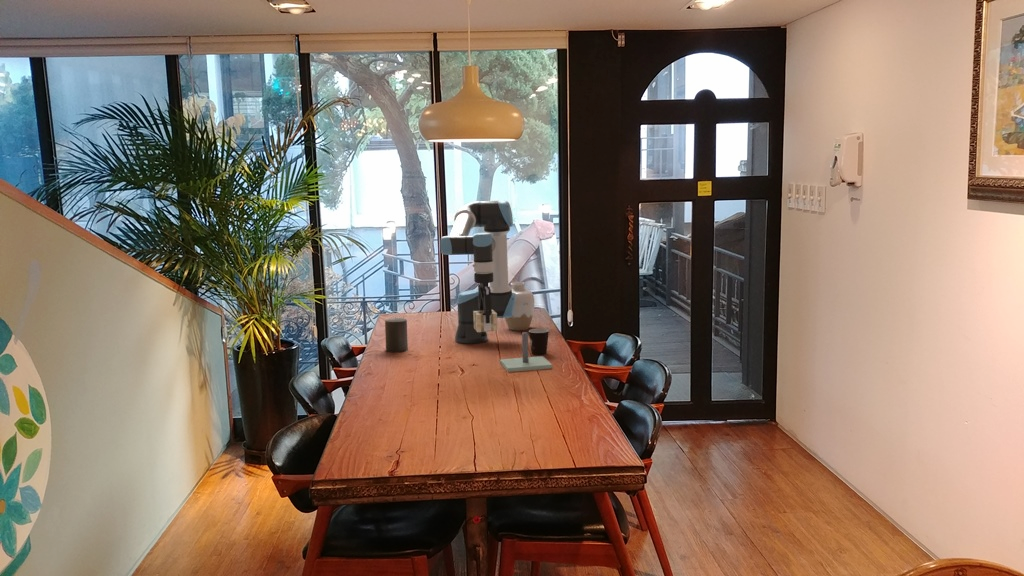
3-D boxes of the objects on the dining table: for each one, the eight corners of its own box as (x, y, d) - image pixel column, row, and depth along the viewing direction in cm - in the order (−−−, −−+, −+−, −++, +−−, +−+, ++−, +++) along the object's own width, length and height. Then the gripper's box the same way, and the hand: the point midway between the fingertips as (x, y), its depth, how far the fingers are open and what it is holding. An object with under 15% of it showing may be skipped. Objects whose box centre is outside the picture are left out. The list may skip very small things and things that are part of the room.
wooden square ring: (473, 328, 323) (473, 311, 322) (493, 326, 325) (492, 309, 324) (477, 332, 315) (476, 314, 314) (497, 330, 317) (496, 313, 316)
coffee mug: (547, 356, 340) (547, 333, 338) (527, 355, 342) (526, 332, 340) (551, 349, 351) (551, 327, 350) (532, 349, 353) (531, 327, 351)
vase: (515, 324, 408) (514, 279, 405) (541, 327, 399) (540, 281, 395) (496, 329, 396) (495, 284, 392) (522, 333, 386) (521, 286, 383)
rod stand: (500, 362, 331) (499, 330, 329) (542, 359, 334) (541, 327, 332) (507, 371, 316) (507, 338, 314) (552, 368, 320) (551, 335, 318)
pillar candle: (393, 353, 352) (392, 319, 350) (381, 349, 359) (380, 316, 357) (412, 349, 358) (411, 316, 356) (400, 346, 366) (399, 314, 363)
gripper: (469, 269, 326) (471, 324, 329) (479, 276, 305) (481, 334, 309) (487, 268, 327) (489, 323, 331) (498, 275, 307) (500, 333, 311)
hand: (485, 328), depth 320 cm, fingers closed on wooden square ring, 8 cm apart
